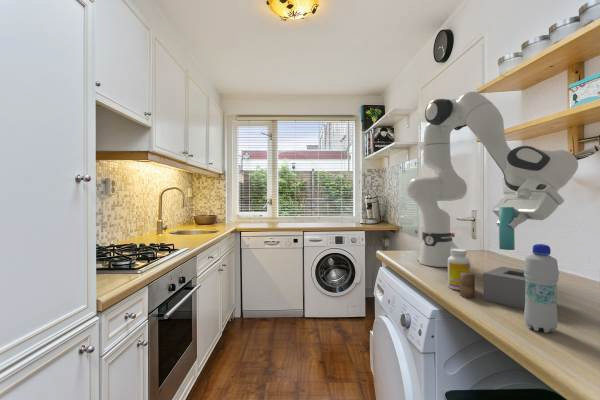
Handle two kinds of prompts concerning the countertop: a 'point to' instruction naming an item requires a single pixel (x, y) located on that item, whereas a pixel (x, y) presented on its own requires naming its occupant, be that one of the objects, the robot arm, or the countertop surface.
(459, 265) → the supplement bottle
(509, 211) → the long pin
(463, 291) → the short pin
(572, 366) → the countertop surface
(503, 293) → the hole block
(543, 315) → the bottle
